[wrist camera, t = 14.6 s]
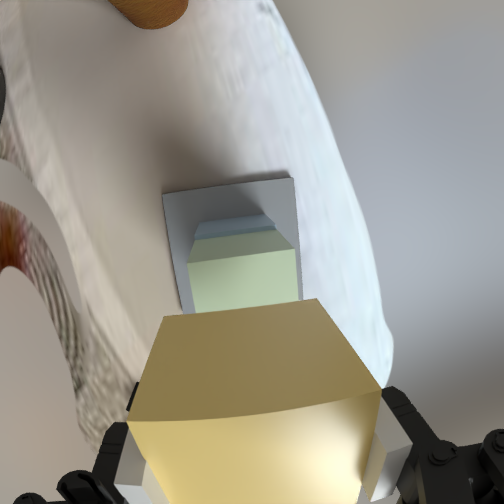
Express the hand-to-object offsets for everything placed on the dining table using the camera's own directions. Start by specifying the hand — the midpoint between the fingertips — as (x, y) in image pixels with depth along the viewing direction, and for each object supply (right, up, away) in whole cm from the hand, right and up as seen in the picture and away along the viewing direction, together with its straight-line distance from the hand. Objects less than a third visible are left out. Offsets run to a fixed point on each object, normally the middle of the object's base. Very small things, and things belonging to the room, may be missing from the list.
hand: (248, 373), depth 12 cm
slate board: (-1, +5, +18) cm, 19 cm away
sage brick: (-1, +3, +12) cm, 12 cm away
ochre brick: (0, 0, 0) cm, 0 cm away
